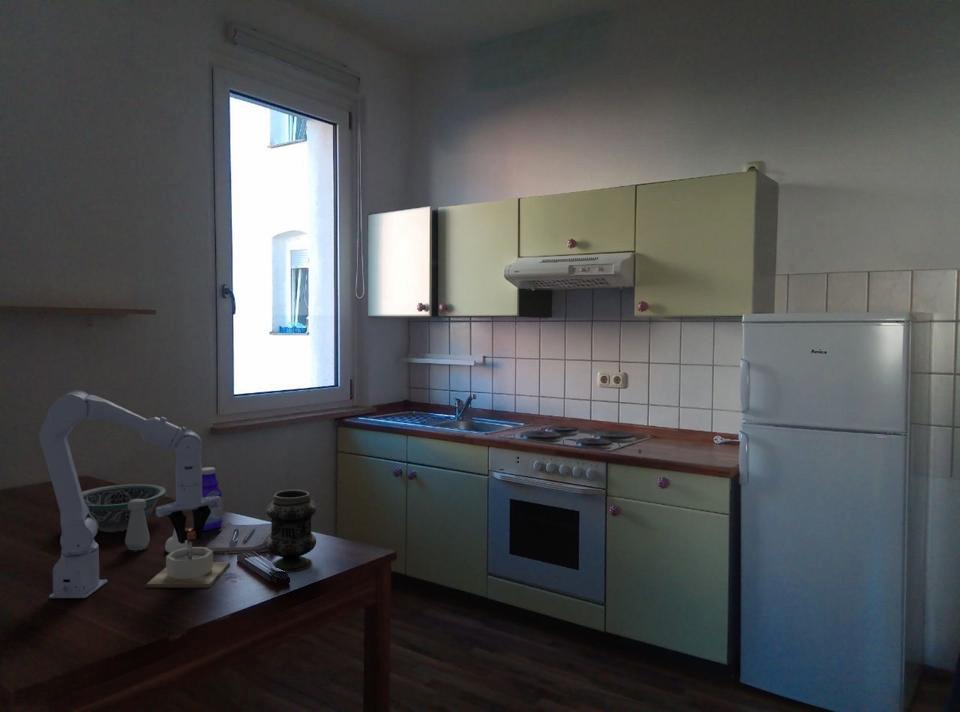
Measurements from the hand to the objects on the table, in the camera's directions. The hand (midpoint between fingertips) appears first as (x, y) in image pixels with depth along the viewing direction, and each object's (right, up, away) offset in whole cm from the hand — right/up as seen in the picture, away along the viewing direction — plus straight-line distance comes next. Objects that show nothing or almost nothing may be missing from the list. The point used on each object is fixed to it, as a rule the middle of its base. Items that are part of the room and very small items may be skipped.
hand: (189, 540), depth 163 cm
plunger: (0, -5, 0) cm, 5 cm away
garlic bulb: (-11, -8, +18) cm, 23 cm away
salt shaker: (-22, -7, +19) cm, 30 cm away
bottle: (-10, -7, +37) cm, 39 cm away
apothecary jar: (+22, -8, +8) cm, 25 cm away
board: (0, -8, 0) cm, 8 cm away
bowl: (-36, -6, +38) cm, 52 cm away
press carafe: (0, -8, 0) cm, 8 cm away
